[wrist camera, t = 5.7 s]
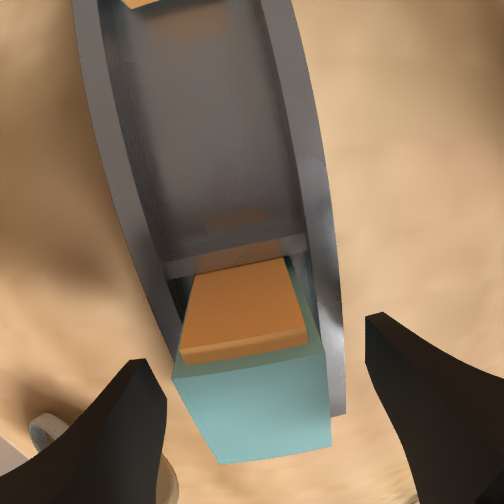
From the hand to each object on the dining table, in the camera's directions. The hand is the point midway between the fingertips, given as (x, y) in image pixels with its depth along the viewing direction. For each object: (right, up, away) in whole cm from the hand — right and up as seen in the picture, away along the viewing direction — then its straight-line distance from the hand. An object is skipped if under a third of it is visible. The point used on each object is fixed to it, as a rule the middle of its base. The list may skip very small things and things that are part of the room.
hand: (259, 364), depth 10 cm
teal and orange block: (0, +1, +2) cm, 2 cm away
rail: (-1, +7, +1) cm, 7 cm away
